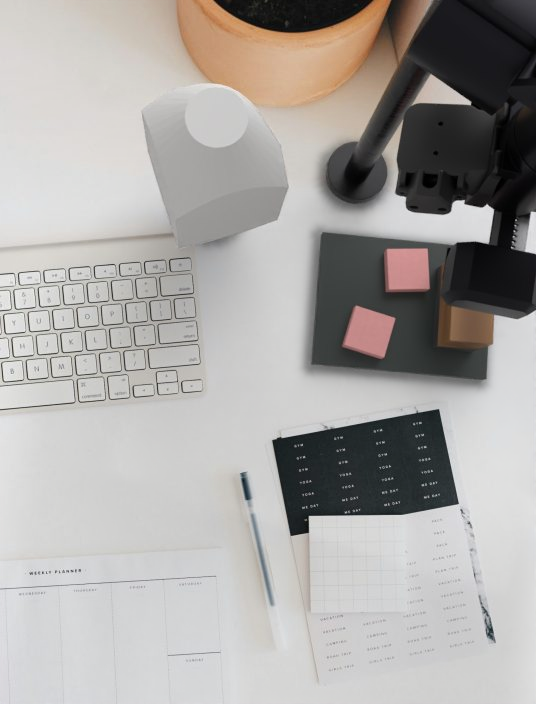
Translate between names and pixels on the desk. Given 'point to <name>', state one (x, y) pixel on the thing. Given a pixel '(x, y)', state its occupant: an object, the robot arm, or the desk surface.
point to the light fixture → (213, 162)
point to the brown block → (459, 324)
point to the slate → (382, 310)
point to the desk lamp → (377, 133)
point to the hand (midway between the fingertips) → (463, 217)
